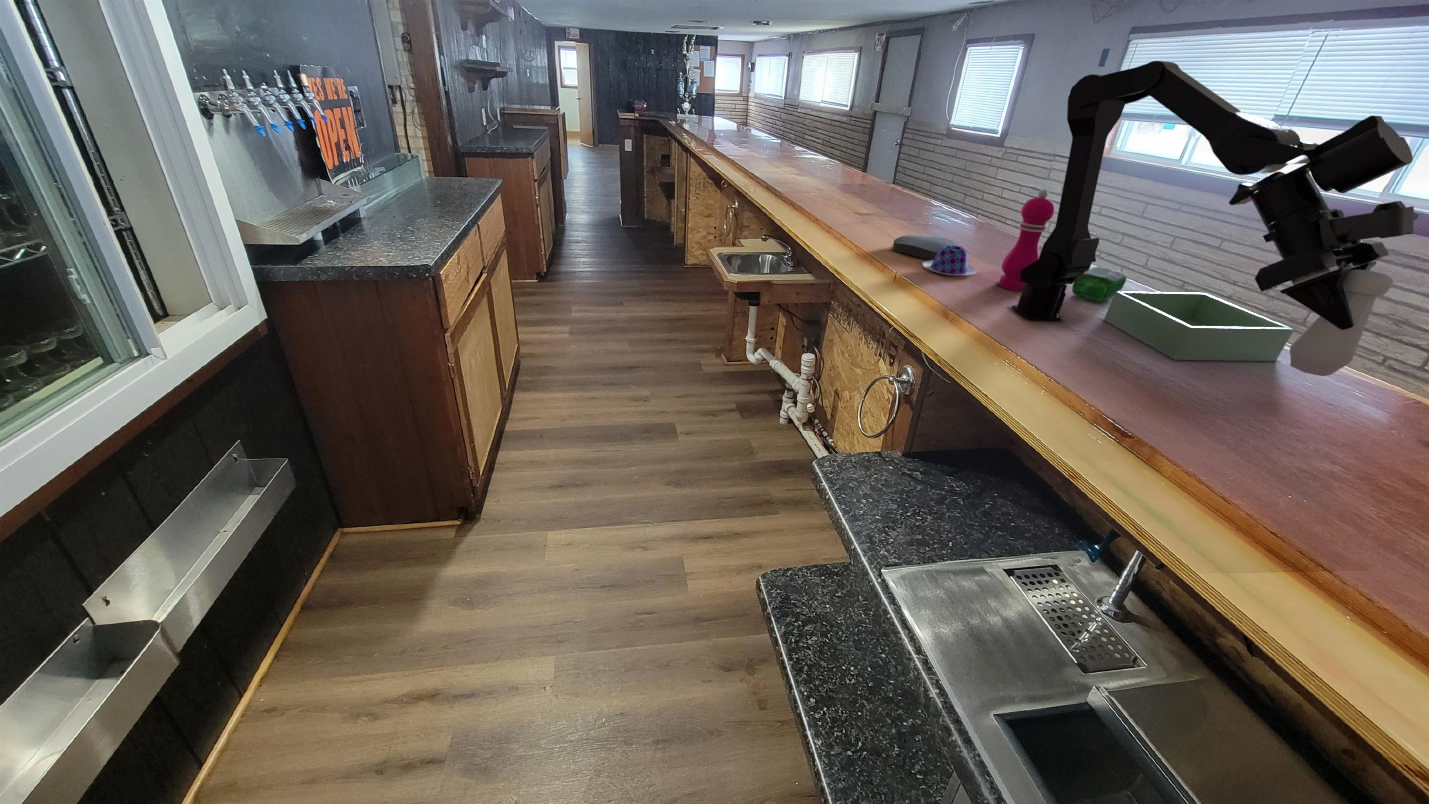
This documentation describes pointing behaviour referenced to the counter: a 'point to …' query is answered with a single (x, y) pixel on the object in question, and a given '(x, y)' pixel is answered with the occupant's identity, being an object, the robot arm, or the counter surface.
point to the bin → (1197, 326)
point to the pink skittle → (1027, 240)
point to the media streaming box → (921, 245)
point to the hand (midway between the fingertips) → (1354, 326)
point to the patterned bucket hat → (950, 262)
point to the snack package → (1098, 284)
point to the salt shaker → (1326, 343)
